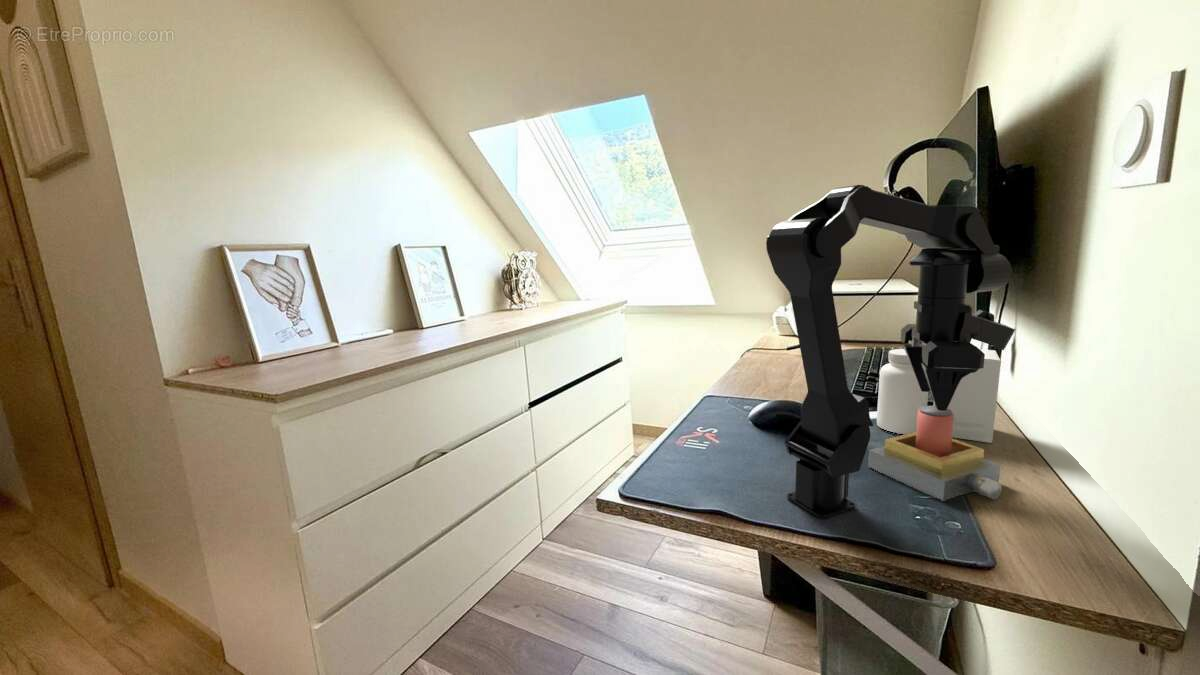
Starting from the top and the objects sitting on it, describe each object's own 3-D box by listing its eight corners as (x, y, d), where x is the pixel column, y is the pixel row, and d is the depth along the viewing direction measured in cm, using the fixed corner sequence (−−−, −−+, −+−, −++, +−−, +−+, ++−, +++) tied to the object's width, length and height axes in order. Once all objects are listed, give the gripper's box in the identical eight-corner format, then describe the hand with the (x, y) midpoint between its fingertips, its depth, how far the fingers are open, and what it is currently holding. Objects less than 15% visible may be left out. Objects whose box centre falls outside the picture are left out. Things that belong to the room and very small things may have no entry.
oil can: (936, 464, 73) (940, 416, 72) (908, 454, 77) (910, 408, 76) (957, 458, 75) (961, 411, 73) (928, 448, 79) (931, 403, 77)
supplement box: (993, 444, 86) (1002, 360, 83) (931, 435, 91) (937, 355, 88) (989, 427, 93) (997, 349, 91) (932, 420, 98) (938, 345, 96)
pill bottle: (883, 435, 92) (888, 356, 89) (871, 420, 100) (875, 347, 97) (932, 437, 90) (938, 356, 87) (915, 422, 98) (921, 347, 95)
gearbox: (965, 512, 66) (969, 477, 65) (867, 467, 80) (869, 438, 79) (1022, 491, 70) (1026, 458, 69) (920, 452, 84) (922, 424, 83)
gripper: (1041, 304, 60) (1026, 427, 63) (985, 289, 77) (976, 386, 80) (933, 304, 64) (924, 420, 67) (903, 289, 81) (897, 382, 84)
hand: (932, 400), depth 75 cm, fingers open, 9 cm apart
